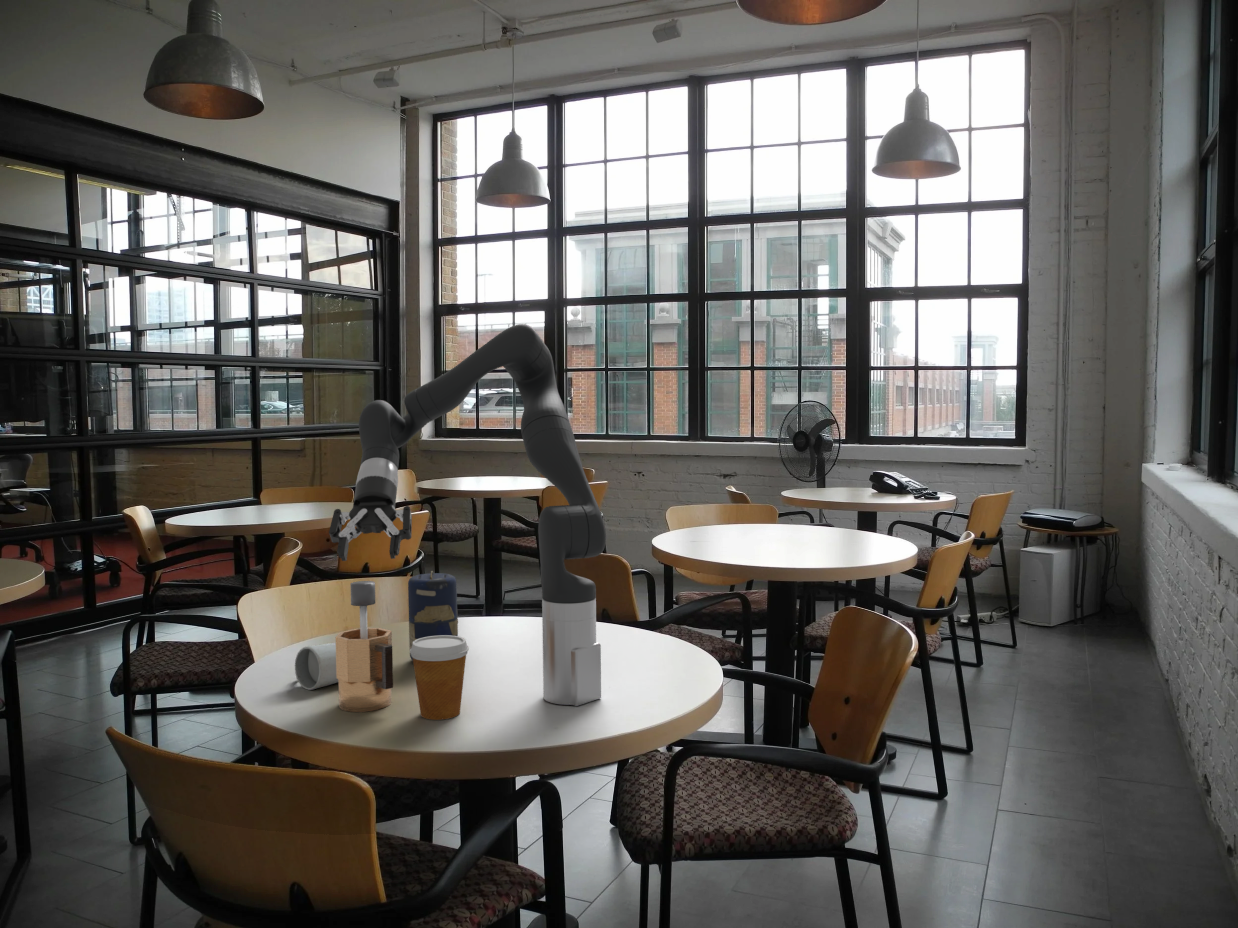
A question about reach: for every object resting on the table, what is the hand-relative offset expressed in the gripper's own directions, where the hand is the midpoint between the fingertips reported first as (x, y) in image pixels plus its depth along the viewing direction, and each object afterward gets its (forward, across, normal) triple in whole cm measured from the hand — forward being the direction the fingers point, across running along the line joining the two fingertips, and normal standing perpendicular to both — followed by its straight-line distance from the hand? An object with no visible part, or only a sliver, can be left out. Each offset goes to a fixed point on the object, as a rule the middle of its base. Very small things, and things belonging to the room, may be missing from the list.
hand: (367, 557), depth 166 cm
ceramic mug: (+13, +11, -21) cm, 27 cm away
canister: (+3, -8, -31) cm, 32 cm away
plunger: (+18, 0, -7) cm, 20 cm away
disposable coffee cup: (+28, -13, -7) cm, 31 cm away
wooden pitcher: (+23, -1, -11) cm, 26 cm away
